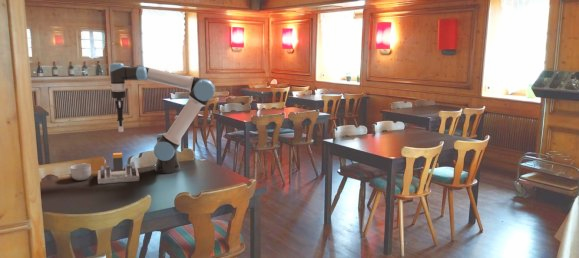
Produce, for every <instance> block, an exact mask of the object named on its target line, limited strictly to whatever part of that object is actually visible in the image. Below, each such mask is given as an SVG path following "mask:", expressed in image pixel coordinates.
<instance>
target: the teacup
mask: <svg viewBox="0 0 579 258" xmlns="http://www.w3.org/2000/svg"><path fill="white" fill-rule="evenodd" d="M69 169H70V175H71V178H72V179H73V180H75V181H86V180H88V179H89V177H91V176H92V175H91V174H92V167H91V164H90V163H86V162H82V163H78V164H73V165H71V166H70V167H69Z"/></svg>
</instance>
